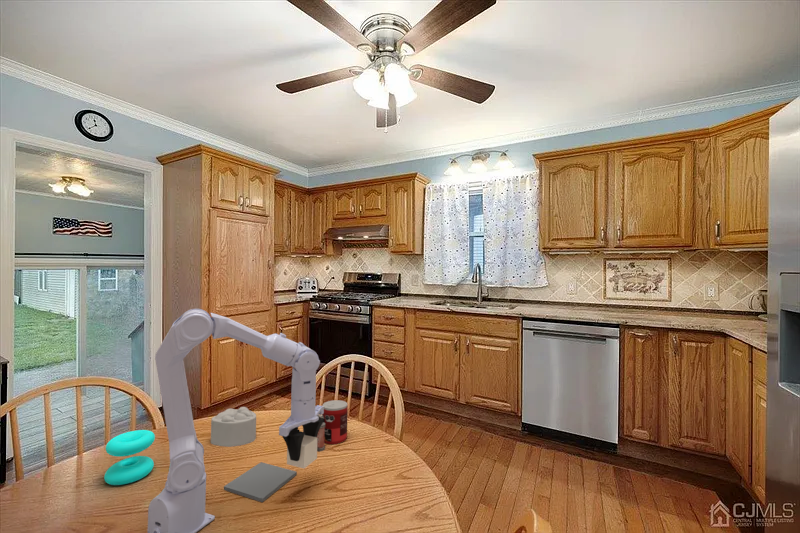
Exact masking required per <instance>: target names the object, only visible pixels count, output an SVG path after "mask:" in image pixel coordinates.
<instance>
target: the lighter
mask: <svg viewBox="0 0 800 533" xmlns="http://www.w3.org/2000/svg"><path fill="white" fill-rule="evenodd" d="M318 417H320V418H323V416H322V415H318ZM302 432H304V431H303V430H302ZM324 434H325V423H324V422H323V423H322V425H321V427H320V429H319V432H318V434H317V452H323V451H324V450H326V446H325V442H324Z"/></svg>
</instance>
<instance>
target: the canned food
mask: <svg viewBox="0 0 800 533" xmlns="http://www.w3.org/2000/svg"><path fill="white" fill-rule="evenodd" d="M322 406H324V414H322V416H323V422H324V423H325V434H324V444H327V445H337V444H338V443H339V444H341V442H342V443H343V442H345V441H346V440H347V436H348V411H349V410H348V402H346V401H345V400H338V399H334V400H333V399H332V400H329V401H325V402H323V403H322Z"/></svg>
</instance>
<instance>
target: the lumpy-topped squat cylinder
mask: <svg viewBox="0 0 800 533" xmlns="http://www.w3.org/2000/svg"><path fill="white" fill-rule="evenodd" d="M210 421H211V422H210V444H211V445H213V446H219V447H227V448H228V447H229V448H231V447H233V448H234V447H238V446H239V447H240V446H244V445H248V444H251V443H253V442H255V440H256V438H257V414H256V413H255V412H254V411H252V410H249V408H248V407H247V406H240V407H239V408H237V409H235V408H227V409H225V410H224V411H222V412H219V413H218V414H217V415H214V416H212V417H211V420H210Z"/></svg>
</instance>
